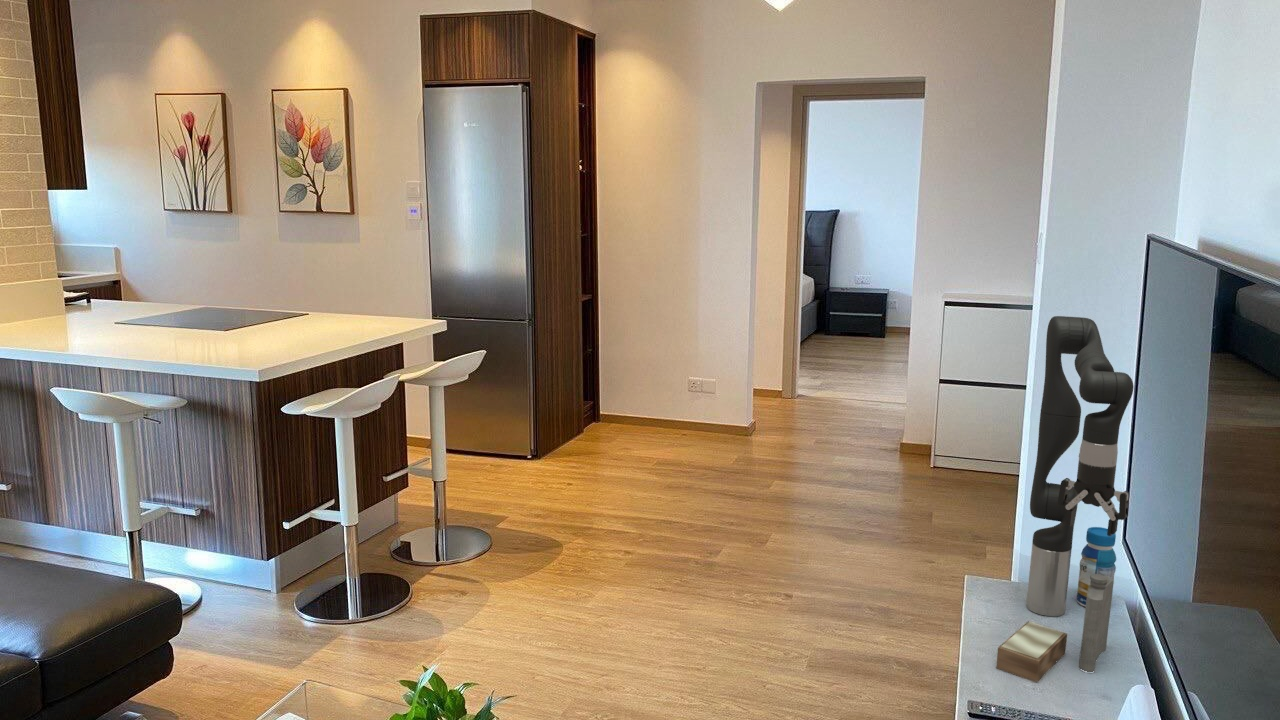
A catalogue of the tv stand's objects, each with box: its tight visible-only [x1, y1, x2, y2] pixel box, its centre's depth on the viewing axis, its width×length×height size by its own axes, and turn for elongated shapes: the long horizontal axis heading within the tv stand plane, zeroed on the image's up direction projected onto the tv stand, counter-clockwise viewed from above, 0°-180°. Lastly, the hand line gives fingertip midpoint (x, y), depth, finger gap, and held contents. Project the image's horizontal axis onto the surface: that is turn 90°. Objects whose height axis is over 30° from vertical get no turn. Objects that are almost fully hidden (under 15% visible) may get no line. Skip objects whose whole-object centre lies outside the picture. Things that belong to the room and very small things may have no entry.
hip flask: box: [1078, 574, 1115, 672], centre depth 219 cm, size 16×4×20 cm, turn 144°
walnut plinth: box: [995, 620, 1068, 683], centre depth 218 cm, size 18×9×5 cm, turn 138°
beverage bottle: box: [1076, 526, 1117, 608], centre depth 247 cm, size 8×8×20 cm
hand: (1089, 530), depth 214 cm, fingers open, 8 cm apart
